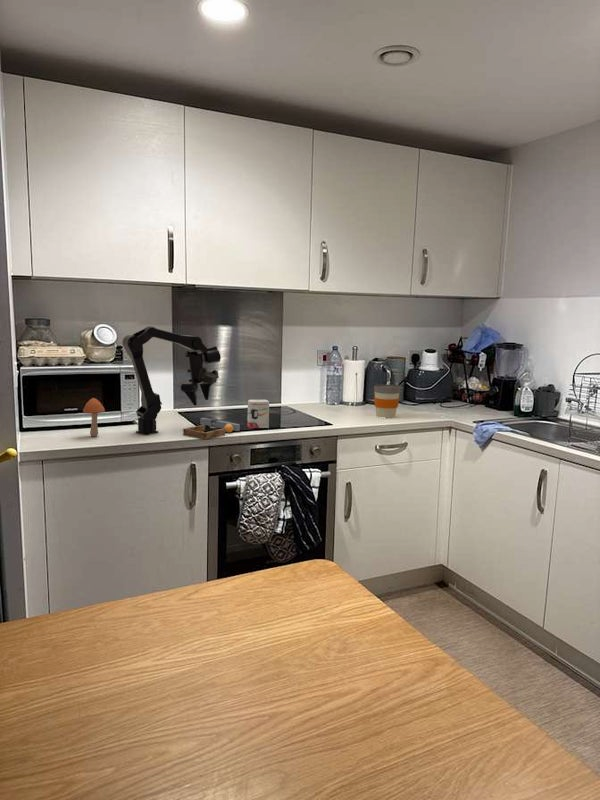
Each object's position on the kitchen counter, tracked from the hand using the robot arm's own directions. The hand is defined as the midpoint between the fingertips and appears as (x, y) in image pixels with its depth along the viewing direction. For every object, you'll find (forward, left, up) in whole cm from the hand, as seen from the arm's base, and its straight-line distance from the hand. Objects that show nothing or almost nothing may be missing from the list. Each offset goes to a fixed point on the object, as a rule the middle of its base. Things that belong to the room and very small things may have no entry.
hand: (201, 402), depth 240 cm
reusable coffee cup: (+78, -47, -11) cm, 92 cm away
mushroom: (-39, +18, -11) cm, 44 cm away
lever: (+4, -7, -10) cm, 13 cm away
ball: (0, -16, -9) cm, 18 cm away
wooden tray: (-10, -12, -11) cm, 18 cm away
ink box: (+16, -18, -11) cm, 26 cm away
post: (+4, -4, -11) cm, 12 cm away
